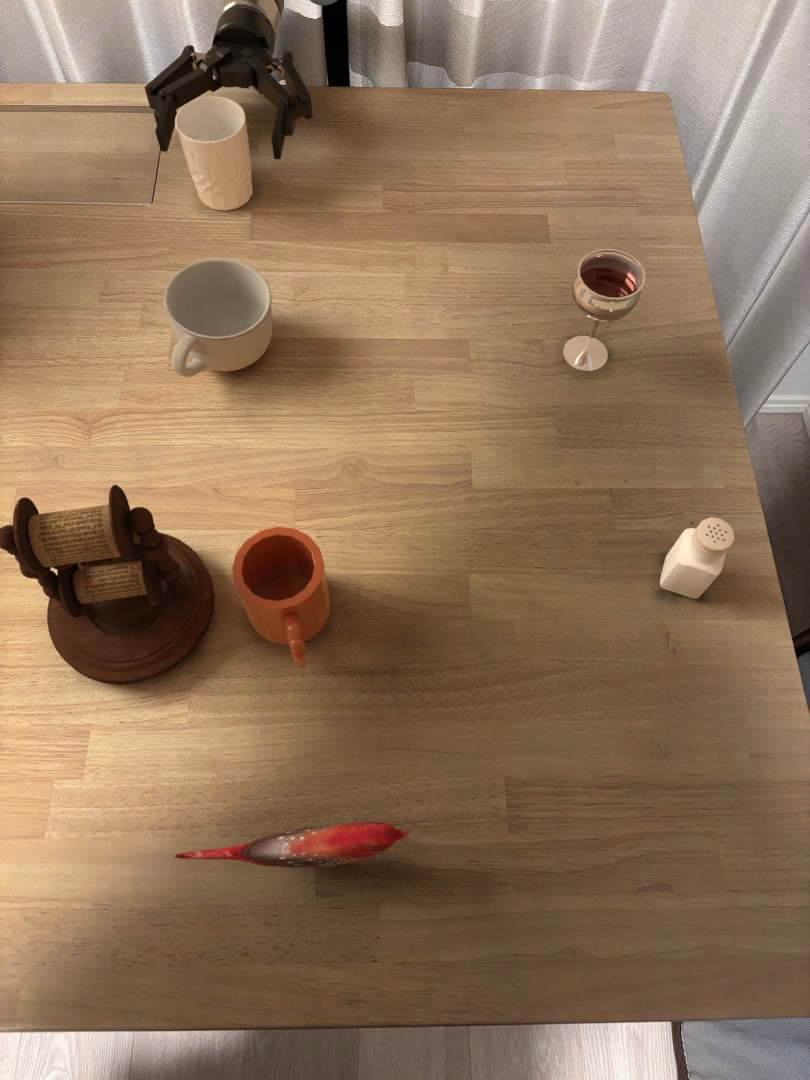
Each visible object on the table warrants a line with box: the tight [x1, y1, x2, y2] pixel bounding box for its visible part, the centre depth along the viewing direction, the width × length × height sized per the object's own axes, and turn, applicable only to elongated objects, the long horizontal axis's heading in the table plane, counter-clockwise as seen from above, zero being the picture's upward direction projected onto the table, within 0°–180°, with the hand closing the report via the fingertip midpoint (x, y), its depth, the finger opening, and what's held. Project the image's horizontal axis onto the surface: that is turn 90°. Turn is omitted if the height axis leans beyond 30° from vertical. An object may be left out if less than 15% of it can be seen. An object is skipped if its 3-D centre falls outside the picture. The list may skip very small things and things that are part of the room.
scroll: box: [0, 484, 216, 686], centre depth 68 cm, size 15×15×20 cm
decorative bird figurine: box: [173, 821, 410, 869], centre depth 63 cm, size 3×18×10 cm, turn 95°
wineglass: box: [562, 248, 646, 372], centre depth 86 cm, size 7×7×12 cm
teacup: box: [163, 257, 273, 378], centre depth 87 cm, size 14×11×8 cm
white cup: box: [175, 95, 254, 211], centre depth 97 cm, size 8×8×10 cm
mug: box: [231, 526, 331, 669], centre depth 73 cm, size 11×8×9 cm
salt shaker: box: [659, 517, 735, 600], centre depth 75 cm, size 4×4×10 cm
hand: (218, 145), depth 97 cm, fingers open, 13 cm apart
